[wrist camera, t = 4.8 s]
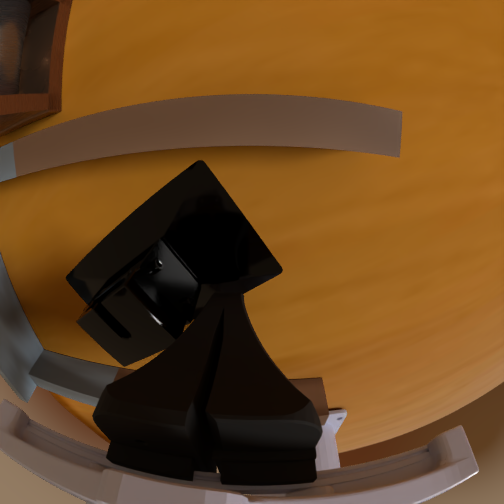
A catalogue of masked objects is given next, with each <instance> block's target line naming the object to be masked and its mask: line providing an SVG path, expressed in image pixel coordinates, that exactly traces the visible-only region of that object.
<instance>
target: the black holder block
mask: <svg viewBox="0 0 504 504" xmlns="http://www.w3.org/2000/svg"><path fill="white" fill-rule="evenodd" d="M282 271H283V269H282V267H281V266H280V264H279V263H278V262H277V260H276V259H275V257H274V256H273V255H272V253H271V252H270V251H269V249H268V248H267V246H266V245H265V244H264V242H263V241H262V239H261V238H260V237H259V235H258V234H257V233H256V231H255V230H254V228H253V227H252V226H251V224H250V223H249V222H248V220H247V219H246V217H245V216H244V215H243V213H242V212H241V211H240V209H239V208H238V207H237V205H236V204H235V202H234V201H233V200H232V198H231V197H230V196H229V194H228V193H227V192H226V190H225V189H224V188H223V186H222V185H221V184H220V182H219V181H218V179H217V178H216V177H215V175H214V174H213V173H212V171H211V170H210V169H209V167H208V166H207V165H206V163H205V162H204V161H202V160H199V161H197V162H195V163H194V164H192V165H191V166H190V167H188V168H187V169H186V170H184V171H183V172H182V173H180V174H179V175H178V176H177V177H175V178H174V179H173V180H171V181H170V182H169V183H168V184H166V185H165V186H164V187H163V188H161V189H160V190H159V191H158V192H156V193H155V194H154V195H153V196H151V197H150V198H149V199H148V200H147V201H145V202H144V203H143V204H142V205H141V206H139V207H138V208H137V209H136V210H135V211H134V212H133V213H131V214H130V215H129V216H128V217H127V218H126V219H125V220H123V221H122V222H121V223H120V224H119V225H118V226H117V227H116V228H115V229H113V230H112V231H111V232H110V233H109V234H108V235H107V236H106V237H105V238H104V239H103V240H102V241H101V242H100V243H99V244H98V245H97V246H96V247H94V248H93V249H92V250H91V251H90V252H89V253H88V254H87V255H86V256H85V257H84V258H83V259H82V260H81V261H80V262H79V264H78V265H77V266H76V267H75V268H74V269H73V270H72V271H71V272H70V273H69V274H68V275H67V276H66V280H67V281H68V283H69V284H70V285H71V286H72V287H73V289H74V290H75V291H76V292H77V293H78V294H79V296H80V297H81V298H82V299H83V300H84V301H85V302H86V303H87V306H86V307H85V309H84V310H83V313H82V315H81V316H80V317H79V319H78V320H77V323H78V324H79V325H80V326H81V327H82V328H83V329H84V330H85V331H86V332H87V333H88V334H89V335H90V336H91V337H92V338H93V339H94V340H95V341H96V342H97V343H98V344H99V345H100V346H101V347H102V348H103V349H104V350H106V351H107V352H108V353H109V354H110V355H111V356H112V357H113V358H114V359H116V360H117V361H118V362H119V363H120V364H121V365H123V366H124V367H125V366H127V365H130V364H132V363H134V362H137V361H139V360H142V359H144V358H146V357H149V356H151V355H153V354H155V353H158V352H160V351H162V350H165V349H167V348H168V347H169V346H170V345H171V344H172V343H173V342H174V341H175V340H176V339H177V338H178V337H179V336H180V335H181V334H182V333H183V331H184V328H185V325H187V324H189V323H191V321H192V320H194V319H195V318H196V317H197V316H198V314H199V313H200V312H201V310H202V309H203V308H204V306H205V305H206V303H207V302H208V300H209V299H210V297H211V296H212V294H213V293H215V292H216V293H242V294H244V293H246V292H248V291H249V290H251V289H253V288H255V287H257V286H259V285H261V284H263V283H264V282H266V281H268V280H270V279H272V278H274V277H275V276H277V275H279V274H281V273H282Z"/></svg>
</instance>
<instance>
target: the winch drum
mask: <svg viewBox="0 0 504 504" xmlns="http://www.w3.org/2000/svg"><path fill="white" fill-rule="evenodd" d="M71 4H72V0H0V136H2V135H5V134H7V133H10V132H12V131H14V130H16V129H18V128H20V127H22V126H25V125H27V124H29V123H32V122H34V121H36V120H39V119H41V118H44V117H46V116H49V115H52V114H54V113H57V112H60V111H61V87H62V67H63V55H64V46H65V38H66V31H67V25H68V19H69V14H70V9H71Z"/></svg>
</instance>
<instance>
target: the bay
mask: <svg viewBox="0 0 504 504" xmlns="http://www.w3.org/2000/svg"><path fill="white" fill-rule="evenodd" d="M401 129H402V112H401V111H397V110H393V109H388V108H384V107H379V106H373V105H368V104H362V103H356V102H350V101H343V100H335V99H327V98H318V97H306V96H292V95H268V94H237V95H213V96H199V97H188V98H178V99H170V100H162V101H155V102H149V103H143V104H137V105H132V106H127V107H122V108H117V109H112V110H108V111H104V112H100V113H96V114H92V115H88V116H84V117H81V118H77V119H74V120H70V121H67V122H64V123H61V124H58V125H55V126H52V127H49V128H46V129H43V130H41V131H38V132H35V133H33V134H30V135H28V136H25V137H23V138H20V139H18V140H16V141H13V142H11V143H9V144H7V145H4V146H2V147H0V182H2V181H5V180H8V179H11V178H15V177H18V176H22V175H25V174H29V173H32V172H36V171H40V170H44V169H48V168H52V167H57V166H61V165H66V164H70V163H75V162H80V161H86V160H91V159H97V158H103V157H109V156H115V155H122V154H129V153H137V152H146V151H155V150H165V149H177V148H191V147H210V146H292V147H311V148H325V149H337V150H347V151H356V152H365V153H372V154H380V155H387V156H393V157H400V145H401ZM134 371H135V370H129V369H123V368H118V367H113V366H108V365H103V364H98V363H93V362H89V361H85V360H80V359H76V358H72V357H69V356H65V355H61V354H58V353H54V352H51V351H47V350H44V349H43V347H42V345H41V344H40V342H39V340H38V338H37V337H36V335H35V333H34V331H33V329H32V327H31V325H30V323H29V321H28V319H27V317H26V315H25V313H24V311H23V309H22V307H21V305H20V303H19V300H18V298H17V296H16V294H15V291H14V289H13V286H12V284H11V281H10V279H9V276H8V274H7V271H6V268H5V265H4V263H3V260H2V257H1V254H0V374H1V375H2V377H3V378H4V380H5V381H6V382H7V383H8V385H9V386H10V387H11V389H12V390H13V391H14V392H15V393H16V395H17V396H18V397H19V398H20V399H21V400H23V401H25V402H28V401H29V399H30V397H31V395H32V393H33V392H34V389H35V388H36V386H39V387H41V388H44V389H46V390H49V391H51V392H54V393H56V394H59V395H62V396H65V397H67V398H70V399H73V400H76V401H79V402H82V403H85V404H89V405H92V406H95V407H96V405H97V403H98V401H99V398H100V396H101V394H102V392H103V390H104V389H105V387H106V385H108V384H110V383H112V382H114V381H116V380H119V379H121V378H123V377H125V376H127V375H129V374H131V373H132V372H134ZM289 381H290V382H291V383H292V384H293V385H294V386H295V387H296V388H297V389H298V390H299V391H301V392H302V393H303V394H304V395H305V396H306V397H307V398H309V399H310V400H311V401H312V403H313V405H314V407H315V409H316V411H317V414H318V416H319V419H320V422H321V425H322V426H324V425H325V423H326V421H327V419H328V417H329V410H328V405H327V400H326V395H325V390H324V385H323V380H322V378H312V379H293V380H289Z"/></svg>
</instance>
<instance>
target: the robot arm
mask: <svg viewBox="0 0 504 504" xmlns="http://www.w3.org/2000/svg"><path fill="white" fill-rule="evenodd" d="M346 415H347V411H346V410H344V409H341V410H333V411H329V417H328V419H327V421H326V423H325V425H324V426H322V425H321V422H320V419H319V416H318V414H317V411H316V409H315V407H314V405H313V403H312V401H311V400H310V399H309V398H307V397H306V396H305V395H304V394H303V393H302V392H301V391H299V390H298V389H297V388H296V387H295V386H294V385H293V384H292V383H291V382H290V381H289V380H288V379H287V378H286V376H285V375H284V374H283V373H282V372H281V371H280V369H279V368H278V367H277V366H276V365H275V363H274V362H273V361H272V359H271V358H270V357H269V355H268V354H267V352H266V351H265V349H264V347H263V346H262V344H261V342H260V341H259V339H258V337H257V335H256V333H255V331H254V329H253V327H252V324H251V322H250V320H249V317H248V314H247V311H246V308H245V304H244V295H243V294H242V293H216V292H215V293H213V294H212V296H211V297H210V299H209V300H208V302H207V303H206V305H205V306H204V308H203V309H202V310H201V312H200V313H199V314H198V316H197V317H196V318H195V319H194V321H193V322H192V323H191V324H190V325H189V327H188V328H187V329H186V330H185V331H184V332H183V333H182V334H181V335H180V336H179V337H178V338H177V339H176V340H175V341H174V342H173V343H172V344H171V345H170V346H169V347H168V348H167V349H165V350H164V351H163V352H162V353H160V354H159V355H158V356H157V357H155V358H154V359H153V360H151V361H150V362H149V363H147V364H145V365H144V366H142V367H141V368H139V369H137V370H136V371H134V372H132V373H131V374H129V375H127V376H125V377H123V378H121V379H119V380H116V381H114V382H112V383H110V384H108V385H106V387H105V389H104V390H103V392H102V394H101V396H100V398H99V401H98V403H97V405H96V408H95V410H94V413H93V415H92V416H93V420H94V422H95V423H96V425H97V426H98V427H99V429H100V430H101V431H102V432H103V433H104V434H105V435H106V436H107V437H108V438H109V439H110V440H111V442H110V445H109V449H108V452H107V451H104V450H101V449H98V448H95V447H92V446H89V445H87V444H84V443H81V442H79V441H76V440H74V439H71V438H69V437H67V436H64V435H62V434H60V433H57V432H55V431H53V430H51V429H49V428H47V427H45V426H43V425H41V424H39V423H37V422H35V421H33V420H31V419H30V418H29V417H28V416H27V415H26V413H25V412H24V411H23V410H21V409H20V408H19V407H17V406H16V405H14V404H12V403H11V402H9V401H8V400H6V399H3V401H2V403H1V404H0V450H1V451H2V452H4V453H5V454H6V455H7V456H9V457H10V458H11V459H13V460H14V461H16V462H17V463H18V464H20V465H22V466H23V467H24V468H26V469H27V470H29V471H30V472H32V473H33V474H35V475H37V476H39V477H40V478H42V479H43V480H45V481H47V482H49V483H50V484H52V485H54V486H56V487H58V488H59V489H61V490H63V491H65V492H67V493H69V494H71V495H73V496H75V497H77V498H80V499H82V500H84V501H86V504H420V503H422V502H424V501H427V500H429V499H431V498H433V497H435V496H437V495H439V494H442V493H444V492H445V491H447V490H449V489H451V488H453V487H455V486H456V485H458V484H460V483H462V482H463V481H465V480H467V479H468V478H470V477H471V476H473V475H475V474H476V473H478V471H479V469H478V466H477V463H476V460H475V458H474V455H473V452H472V449H471V447H470V444H469V442H468V439H467V437H466V434H465V432H464V429H463V427H462V425H459V426H457V427H454V428H452V429H450V430H448V431H445V432H443V433H441V434H439V435H437V436H436V437H434V438H433V439H432V440H431V441H430V442H429V443H428V444H427V445H424V446H422V447H419V448H416V449H413V450H410V451H407V452H404V453H401V454H397V455H394V456H390V457H387V458H383V459H379V460H375V461H371V462H367V463H362V464H358V465H353V466H348V467H342V468H340V463H339V457H338V451H337V445H336V440H335V434H336V432H337V431H338V429H339V427H340V426H341V424H342V422H343V421H344V419H345V417H346ZM217 467H218V470H219V473H217V470H216V469H217ZM243 494H251V496H250V495H243Z"/></svg>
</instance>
